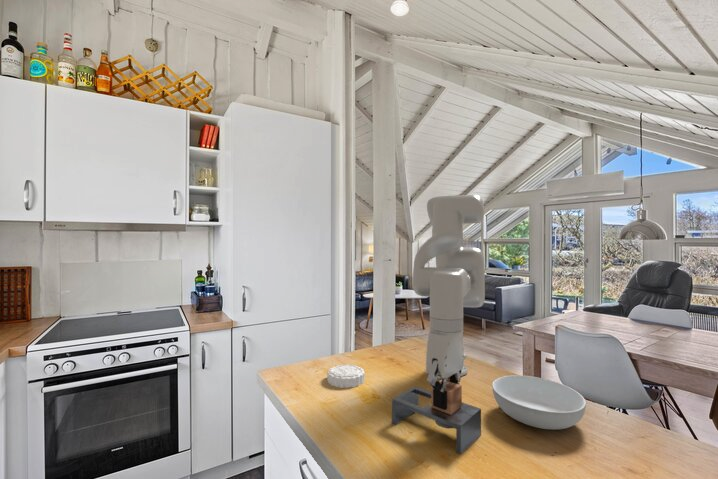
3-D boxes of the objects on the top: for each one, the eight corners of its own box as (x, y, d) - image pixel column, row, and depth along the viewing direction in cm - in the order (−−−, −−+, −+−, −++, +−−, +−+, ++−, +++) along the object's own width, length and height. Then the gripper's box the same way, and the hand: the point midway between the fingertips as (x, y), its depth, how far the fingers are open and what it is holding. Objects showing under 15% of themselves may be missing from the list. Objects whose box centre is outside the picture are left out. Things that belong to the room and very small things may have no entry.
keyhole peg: (442, 414, 83) (442, 379, 83) (462, 422, 79) (462, 385, 79) (430, 422, 79) (430, 385, 79) (451, 431, 76) (451, 392, 76)
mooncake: (371, 384, 107) (371, 373, 107) (335, 391, 102) (335, 379, 102) (354, 371, 118) (354, 361, 118) (322, 377, 113) (322, 366, 113)
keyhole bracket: (392, 423, 84) (392, 398, 84) (415, 409, 91) (415, 386, 91) (460, 454, 71) (460, 425, 71) (481, 435, 79) (481, 408, 79)
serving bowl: (533, 449, 73) (533, 417, 74) (475, 404, 94) (475, 379, 94) (608, 434, 79) (608, 404, 79) (538, 395, 99) (538, 371, 99)
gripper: (449, 316, 88) (449, 386, 88) (411, 328, 76) (411, 411, 76) (477, 320, 83) (478, 395, 83) (442, 334, 71) (442, 423, 70)
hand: (446, 402), depth 79 cm, fingers open, 5 cm apart
